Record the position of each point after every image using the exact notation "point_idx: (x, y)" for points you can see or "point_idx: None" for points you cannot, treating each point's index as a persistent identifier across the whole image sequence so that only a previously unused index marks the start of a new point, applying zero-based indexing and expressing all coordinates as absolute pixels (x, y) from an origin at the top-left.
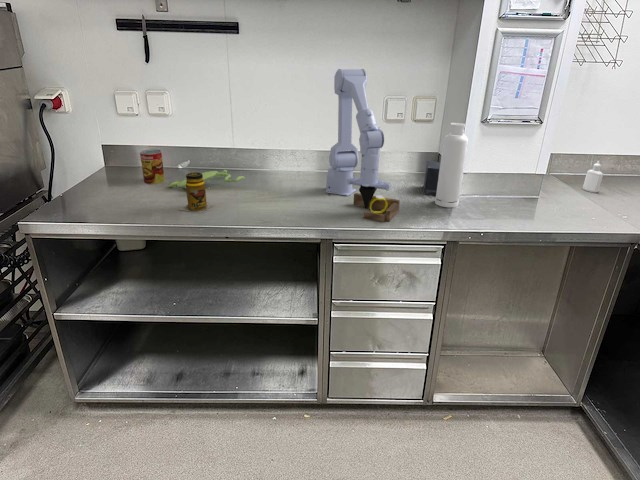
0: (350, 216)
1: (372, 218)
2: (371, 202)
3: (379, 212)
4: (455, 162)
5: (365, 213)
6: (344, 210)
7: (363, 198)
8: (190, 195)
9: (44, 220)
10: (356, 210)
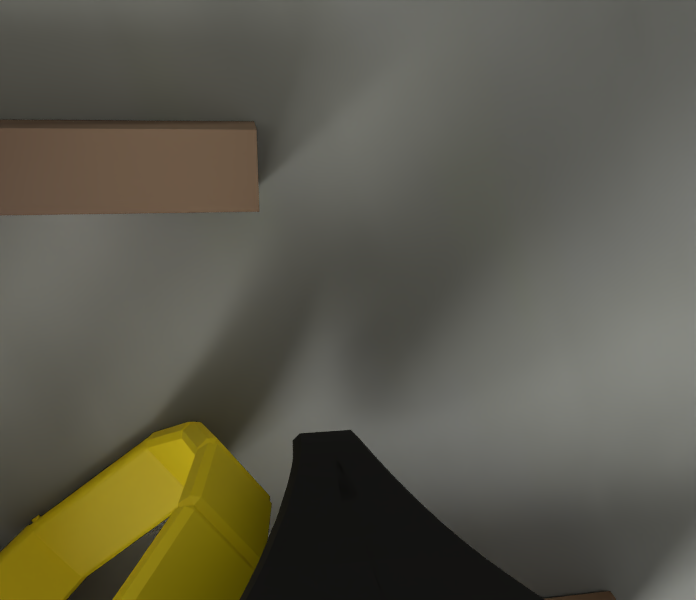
0: (523, 78)
1: (28, 122)
2: (191, 559)
3: (72, 508)
4: None
5: (206, 126)
6: (692, 315)
7: (456, 557)
8: None
9: None
10: (503, 418)
